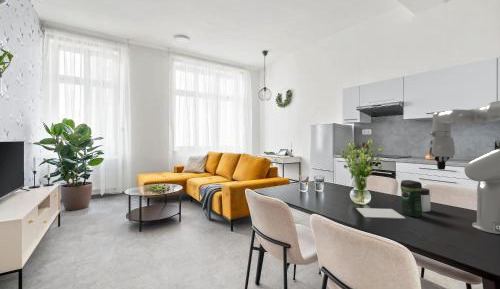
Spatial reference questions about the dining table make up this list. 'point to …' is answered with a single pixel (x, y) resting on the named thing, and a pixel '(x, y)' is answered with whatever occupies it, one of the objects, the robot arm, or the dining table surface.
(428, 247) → the dining table surface
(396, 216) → the mat
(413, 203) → the coffee jar
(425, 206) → the jar
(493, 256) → the dining table surface
